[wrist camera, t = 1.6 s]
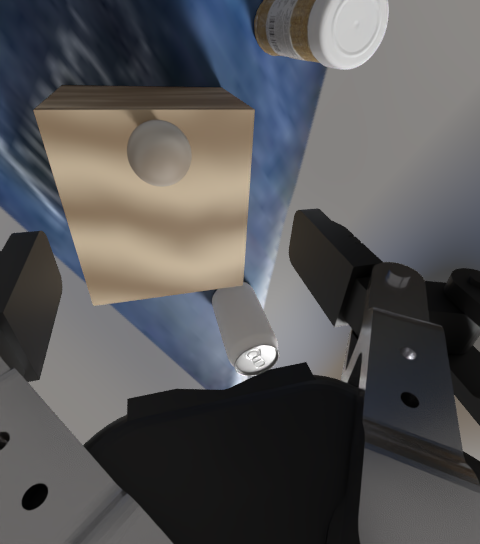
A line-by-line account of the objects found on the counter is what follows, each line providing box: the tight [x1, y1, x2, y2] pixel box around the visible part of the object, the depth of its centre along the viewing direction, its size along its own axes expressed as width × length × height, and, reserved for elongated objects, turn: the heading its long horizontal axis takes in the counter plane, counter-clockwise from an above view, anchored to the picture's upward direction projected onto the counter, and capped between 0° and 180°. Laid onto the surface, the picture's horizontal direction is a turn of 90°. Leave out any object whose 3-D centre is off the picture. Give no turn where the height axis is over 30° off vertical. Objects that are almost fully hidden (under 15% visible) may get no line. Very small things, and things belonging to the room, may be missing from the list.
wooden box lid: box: [33, 108, 255, 306], centre depth 24 cm, size 16×14×7 cm
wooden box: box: [36, 85, 252, 108], centre depth 30 cm, size 16×14×10 cm
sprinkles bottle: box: [254, 0, 389, 70], centre depth 24 cm, size 5×5×13 cm
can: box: [212, 282, 279, 376], centre depth 43 cm, size 6×6×12 cm
